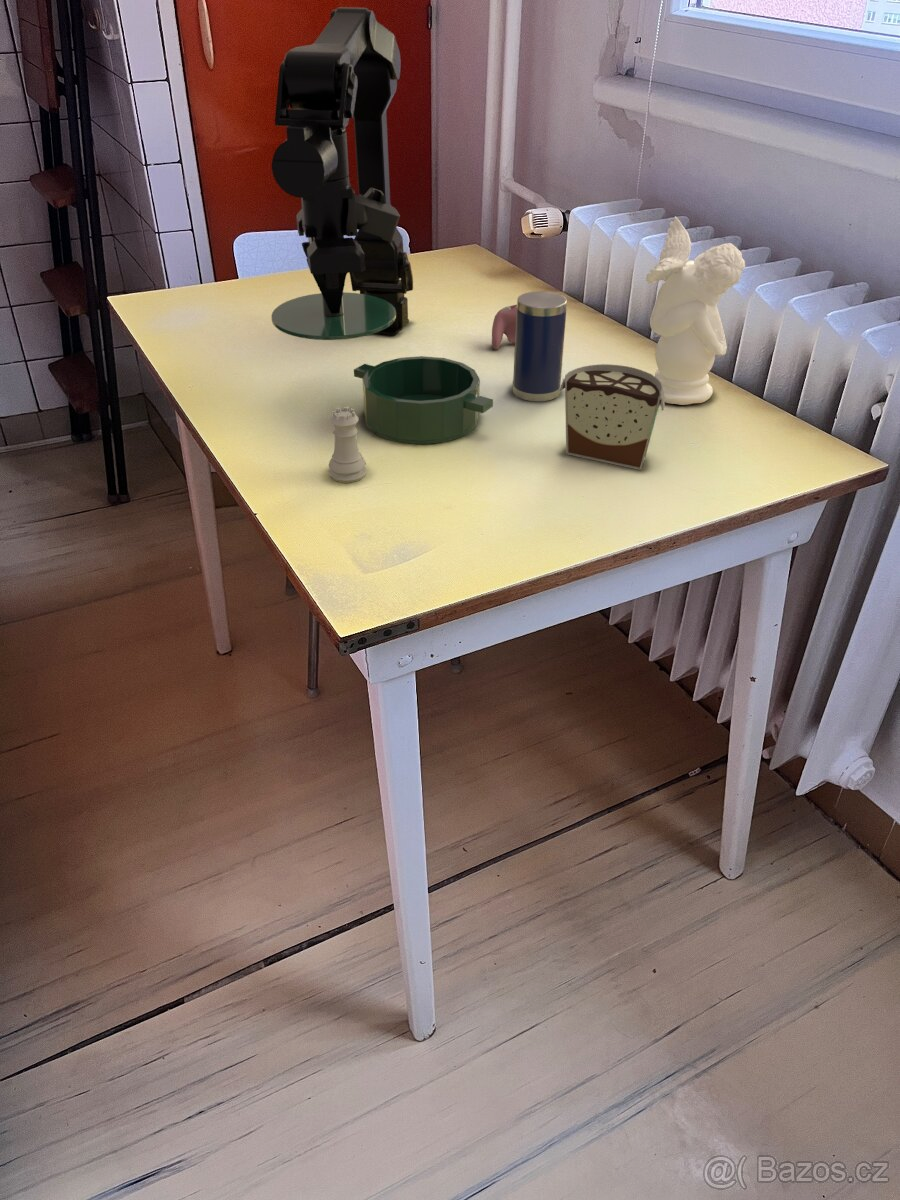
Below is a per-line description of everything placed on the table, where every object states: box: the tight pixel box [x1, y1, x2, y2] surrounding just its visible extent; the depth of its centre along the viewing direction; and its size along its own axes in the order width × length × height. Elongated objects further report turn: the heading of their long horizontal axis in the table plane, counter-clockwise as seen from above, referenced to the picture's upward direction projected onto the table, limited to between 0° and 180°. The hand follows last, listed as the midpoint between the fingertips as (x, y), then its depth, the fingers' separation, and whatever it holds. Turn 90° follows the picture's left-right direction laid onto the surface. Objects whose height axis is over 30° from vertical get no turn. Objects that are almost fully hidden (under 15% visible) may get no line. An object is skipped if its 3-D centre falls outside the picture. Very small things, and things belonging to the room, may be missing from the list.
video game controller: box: [491, 304, 517, 351], centre depth 141 cm, size 10×5×7 cm, turn 84°
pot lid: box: [271, 291, 396, 341], centre depth 117 cm, size 16×16×6 cm
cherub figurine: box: [645, 215, 746, 406], centre depth 121 cm, size 12×12×22 cm
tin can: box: [512, 291, 568, 403], centre depth 125 cm, size 6×6×13 cm
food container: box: [560, 363, 666, 471], centre depth 111 cm, size 12×6×10 cm, turn 65°
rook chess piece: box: [328, 406, 368, 484], centre depth 107 cm, size 4×4×8 cm
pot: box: [353, 355, 494, 445], centre depth 120 cm, size 15×20×6 cm
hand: (333, 308), depth 117 cm, fingers closed on pot lid, 3 cm apart
